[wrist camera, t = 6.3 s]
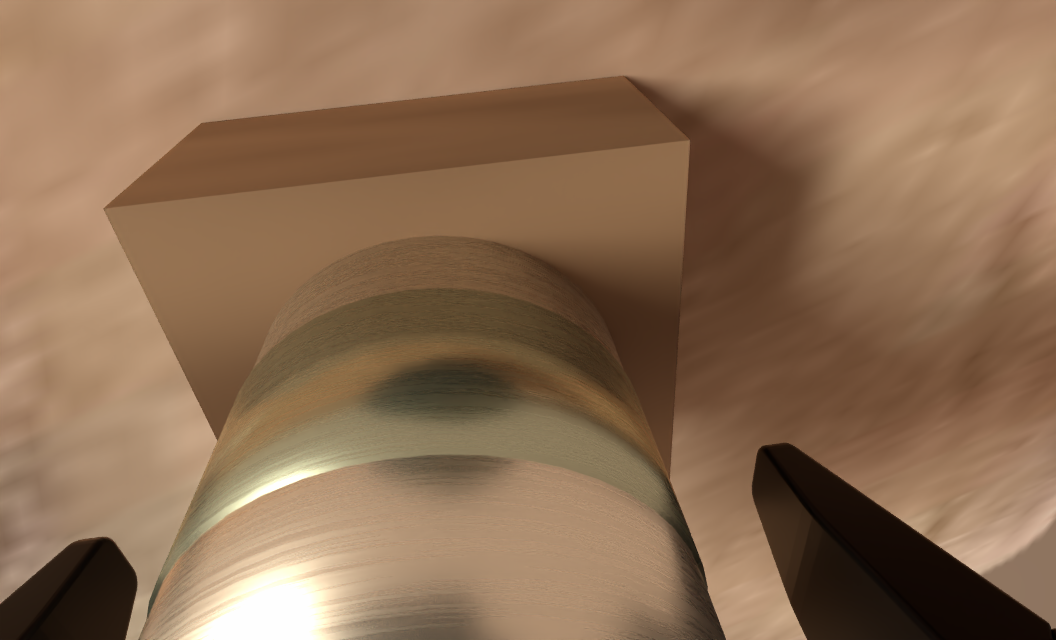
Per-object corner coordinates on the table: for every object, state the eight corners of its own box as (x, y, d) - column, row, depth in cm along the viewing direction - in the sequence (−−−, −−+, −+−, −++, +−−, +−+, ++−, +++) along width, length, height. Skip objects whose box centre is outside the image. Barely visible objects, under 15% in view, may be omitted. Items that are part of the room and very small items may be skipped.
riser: (623, 394, 16) (667, 517, 13) (316, 435, 16) (282, 572, 13) (623, 75, 12) (690, 139, 9) (201, 123, 12) (103, 208, 8)
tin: (620, 491, 13) (733, 875, 8) (313, 534, 12) (222, 961, 7) (620, 209, 9) (822, 565, 4) (197, 260, 9) (-120, 703, 4)
